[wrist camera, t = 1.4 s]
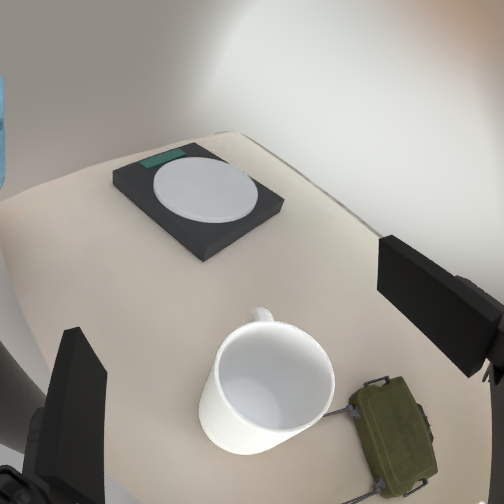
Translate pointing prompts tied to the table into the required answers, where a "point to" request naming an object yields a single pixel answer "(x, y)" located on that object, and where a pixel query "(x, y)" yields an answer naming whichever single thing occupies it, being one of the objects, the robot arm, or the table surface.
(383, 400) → the landmine
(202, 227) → the scale
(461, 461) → the table surface
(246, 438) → the mug
